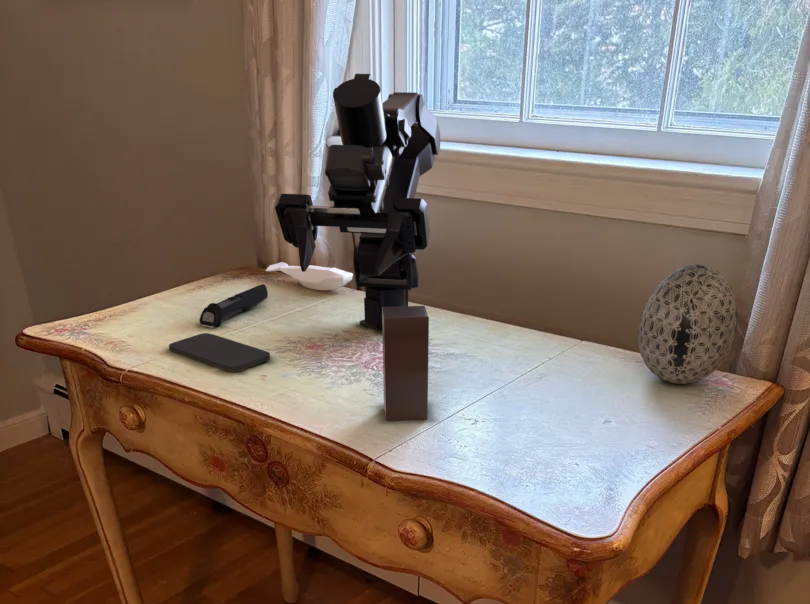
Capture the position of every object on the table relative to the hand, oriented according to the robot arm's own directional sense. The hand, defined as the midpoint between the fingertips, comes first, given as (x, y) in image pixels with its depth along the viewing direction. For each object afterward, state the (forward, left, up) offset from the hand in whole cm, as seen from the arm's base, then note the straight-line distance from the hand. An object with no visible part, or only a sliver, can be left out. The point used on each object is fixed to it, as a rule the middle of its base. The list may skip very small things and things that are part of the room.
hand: (339, 270), depth 95 cm
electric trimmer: (-9, -36, -15) cm, 40 cm away
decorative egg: (-32, +30, -15) cm, 46 cm away
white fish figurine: (-27, -39, -15) cm, 50 cm away
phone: (+4, -22, -15) cm, 27 cm away
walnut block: (0, +11, -15) cm, 19 cm away
